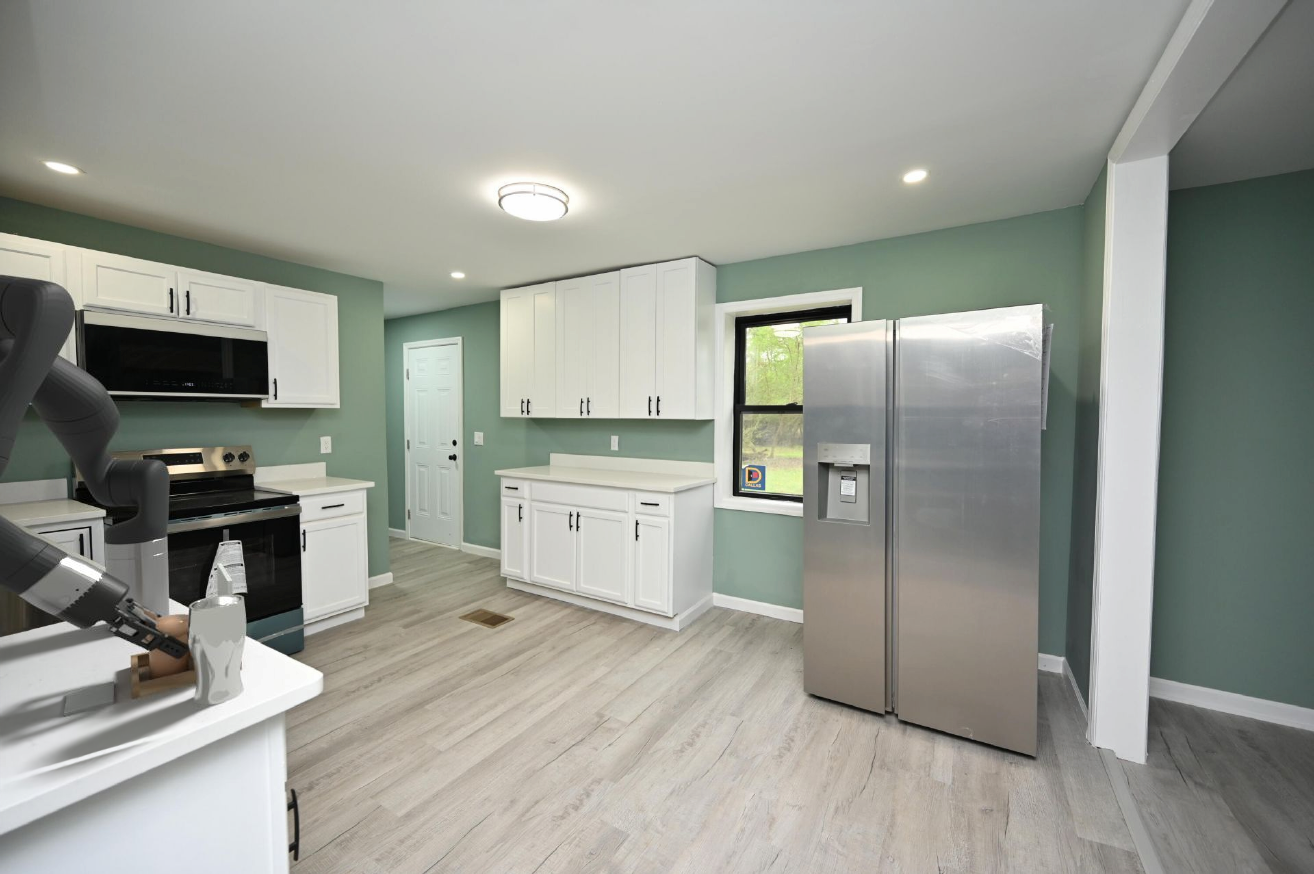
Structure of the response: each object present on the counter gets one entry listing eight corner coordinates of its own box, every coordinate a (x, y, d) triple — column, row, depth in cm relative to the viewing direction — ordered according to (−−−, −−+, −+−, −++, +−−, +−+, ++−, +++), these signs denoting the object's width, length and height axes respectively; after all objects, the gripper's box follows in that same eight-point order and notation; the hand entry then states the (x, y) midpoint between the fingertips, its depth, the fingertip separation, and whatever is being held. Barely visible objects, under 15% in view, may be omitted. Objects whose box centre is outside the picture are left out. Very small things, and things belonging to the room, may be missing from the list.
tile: (67, 698, 84) (67, 692, 84) (114, 687, 87) (113, 681, 87) (64, 720, 78) (63, 713, 78) (113, 707, 82) (113, 701, 82)
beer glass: (235, 707, 82) (233, 607, 82) (179, 714, 80) (176, 611, 80) (255, 685, 89) (253, 592, 88) (203, 690, 87) (201, 596, 86)
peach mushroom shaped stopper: (145, 674, 91) (144, 619, 90) (190, 663, 94) (189, 611, 94) (147, 687, 87) (145, 630, 86) (193, 675, 90) (192, 621, 90)
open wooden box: (131, 670, 93) (129, 602, 93) (230, 647, 102) (229, 585, 102) (132, 702, 83) (130, 626, 83) (242, 674, 92) (241, 605, 92)
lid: (217, 612, 101) (216, 563, 100) (222, 611, 101) (221, 562, 101) (229, 635, 91) (227, 581, 90) (233, 634, 91) (232, 580, 91)
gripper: (100, 581, 79) (209, 640, 88) (102, 560, 90) (199, 615, 98) (46, 627, 76) (165, 684, 85) (54, 600, 86) (160, 653, 95)
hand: (183, 646), depth 92 cm, fingers closed on peach mushroom shaped stopper, 5 cm apart
